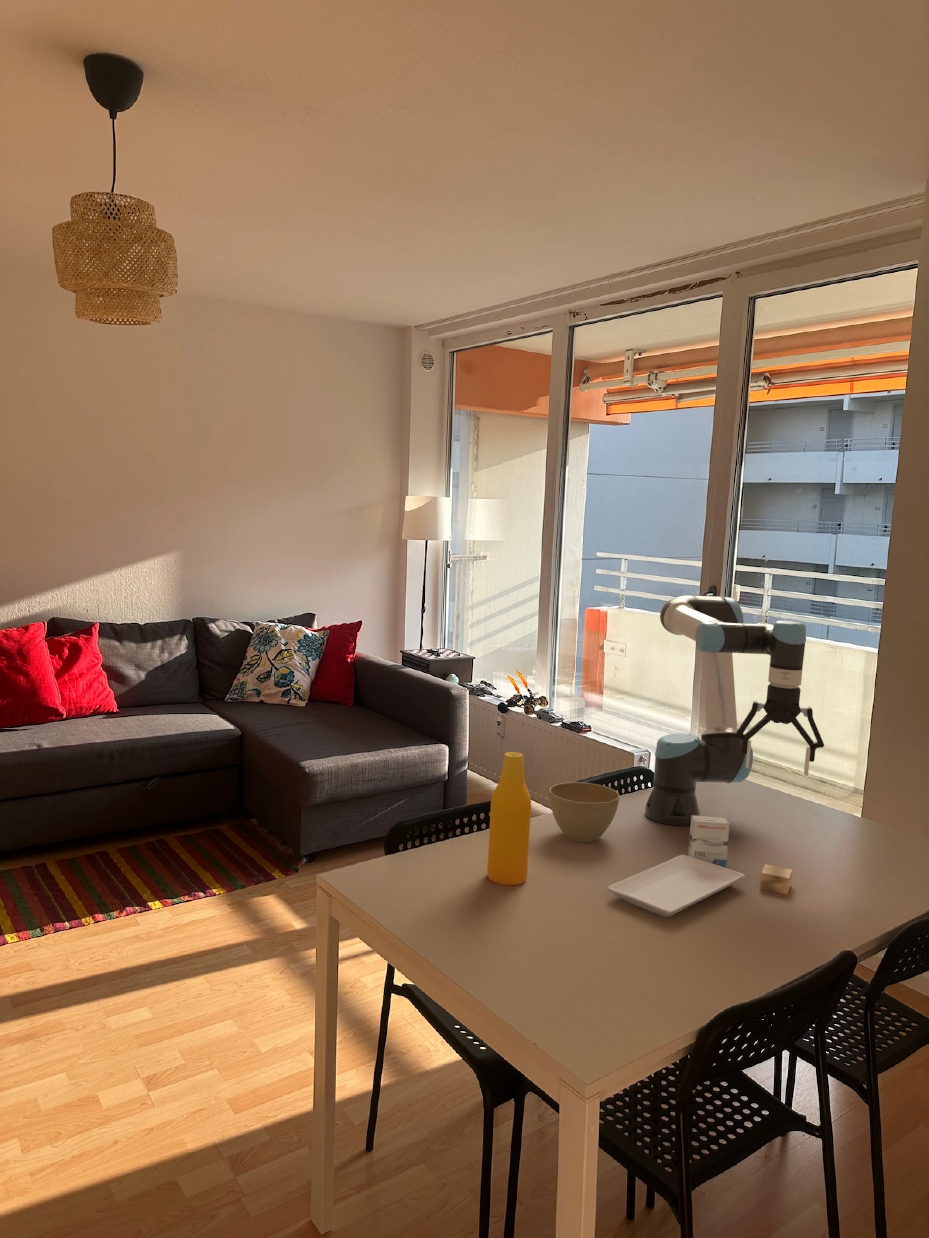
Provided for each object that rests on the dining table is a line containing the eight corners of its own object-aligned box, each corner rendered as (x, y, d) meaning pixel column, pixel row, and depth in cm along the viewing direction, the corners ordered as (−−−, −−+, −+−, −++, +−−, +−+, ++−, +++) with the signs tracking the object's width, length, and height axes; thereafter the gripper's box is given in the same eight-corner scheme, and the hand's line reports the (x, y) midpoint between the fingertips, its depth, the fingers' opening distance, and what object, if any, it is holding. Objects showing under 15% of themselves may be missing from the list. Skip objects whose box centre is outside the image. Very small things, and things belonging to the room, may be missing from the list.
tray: (604, 900, 194) (605, 885, 194) (681, 866, 216) (682, 852, 216) (670, 928, 183) (671, 912, 182) (745, 888, 205) (746, 874, 204)
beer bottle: (535, 878, 204) (542, 755, 200) (509, 889, 197) (516, 762, 194) (504, 866, 210) (511, 746, 207) (478, 876, 203) (484, 753, 200)
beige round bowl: (626, 835, 235) (630, 790, 234) (599, 855, 220) (602, 807, 219) (565, 820, 245) (568, 777, 243) (534, 838, 229) (537, 792, 228)
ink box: (722, 863, 219) (726, 817, 217) (726, 871, 214) (730, 823, 212) (686, 860, 219) (690, 814, 218) (690, 868, 215) (693, 820, 213)
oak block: (759, 889, 204) (761, 872, 204) (763, 880, 210) (765, 864, 209) (787, 895, 202) (788, 878, 201) (790, 886, 207) (792, 869, 207)
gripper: (730, 682, 215) (723, 767, 217) (841, 693, 208) (832, 781, 210) (730, 677, 222) (723, 759, 225) (838, 687, 215) (829, 772, 217)
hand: (776, 770), depth 217 cm, fingers open, 13 cm apart
